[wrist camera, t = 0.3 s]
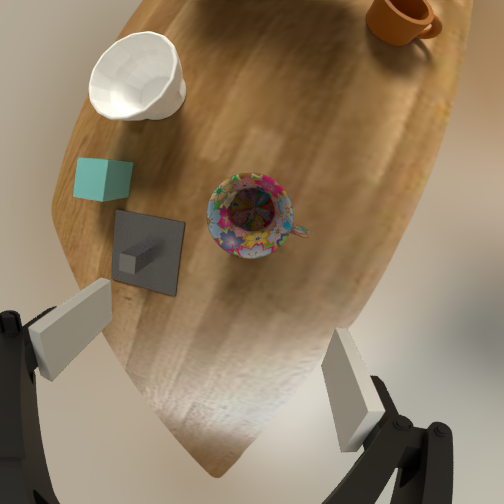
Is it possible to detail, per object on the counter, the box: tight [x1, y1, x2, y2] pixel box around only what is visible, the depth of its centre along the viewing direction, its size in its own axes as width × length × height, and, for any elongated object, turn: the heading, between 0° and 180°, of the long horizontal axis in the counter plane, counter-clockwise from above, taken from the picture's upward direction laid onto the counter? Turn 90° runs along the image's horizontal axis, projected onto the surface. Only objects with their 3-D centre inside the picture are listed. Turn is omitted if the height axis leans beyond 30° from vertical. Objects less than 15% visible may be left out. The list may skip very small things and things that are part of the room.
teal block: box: [73, 158, 133, 202], centre depth 36 cm, size 6×6×8 cm
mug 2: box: [366, 0, 442, 46], centre depth 26 cm, size 9×12×9 cm
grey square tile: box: [112, 209, 185, 296], centre depth 39 cm, size 12×12×6 cm
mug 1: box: [207, 173, 311, 258], centre depth 35 cm, size 12×9×11 cm
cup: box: [89, 31, 186, 121], centre depth 31 cm, size 12×12×11 cm
